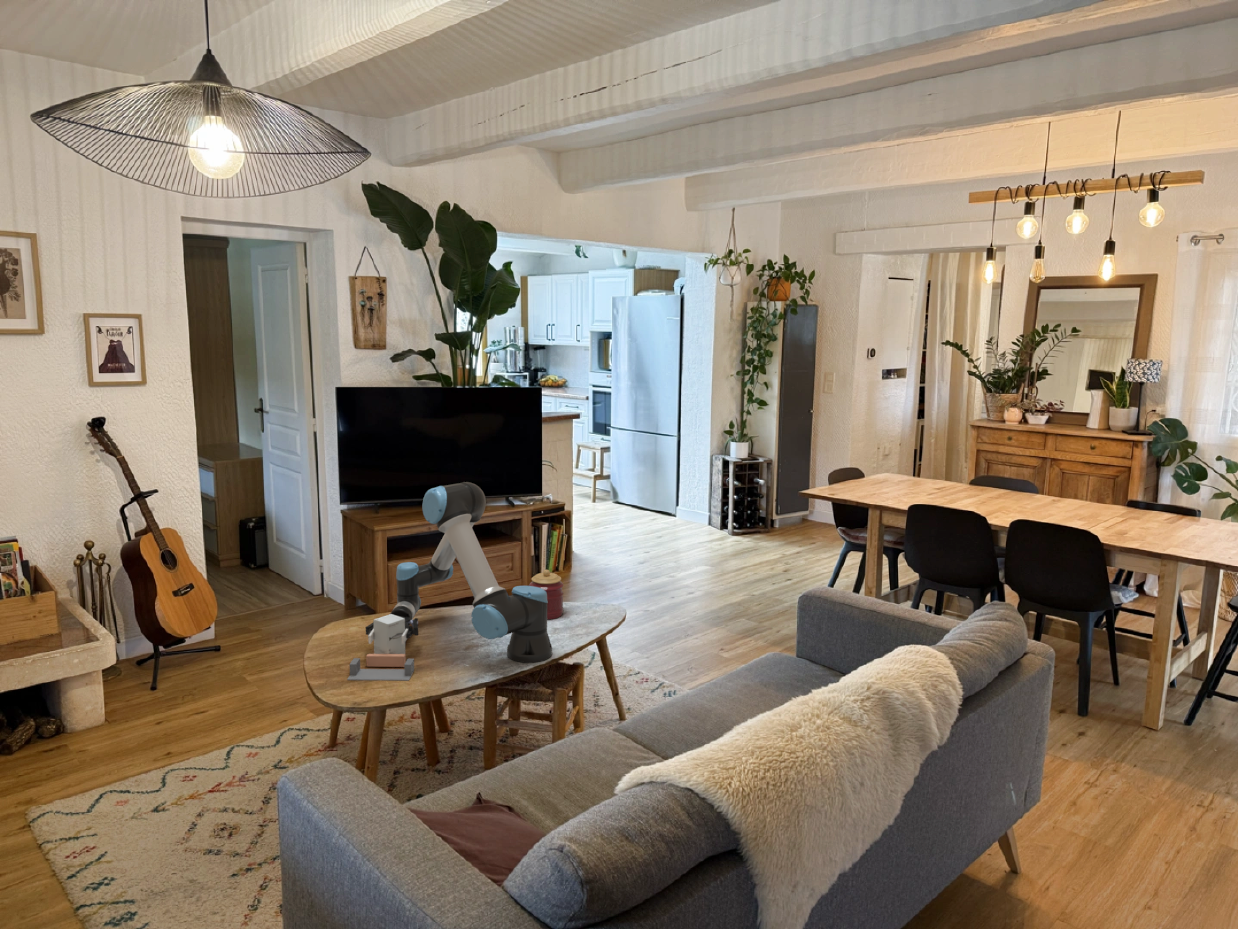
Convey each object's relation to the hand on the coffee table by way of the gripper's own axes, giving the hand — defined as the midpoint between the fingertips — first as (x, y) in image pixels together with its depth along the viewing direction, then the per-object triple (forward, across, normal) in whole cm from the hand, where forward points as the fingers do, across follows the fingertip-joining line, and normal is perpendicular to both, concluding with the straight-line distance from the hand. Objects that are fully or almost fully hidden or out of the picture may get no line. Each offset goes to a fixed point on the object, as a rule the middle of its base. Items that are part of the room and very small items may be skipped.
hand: (386, 639), depth 271 cm
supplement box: (-4, 0, -7) cm, 8 cm away
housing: (+8, 0, -8) cm, 12 cm away
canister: (-49, -49, -9) cm, 69 cm away
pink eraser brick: (+2, 0, -8) cm, 8 cm away
